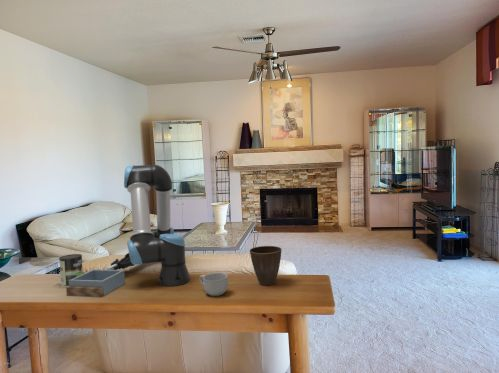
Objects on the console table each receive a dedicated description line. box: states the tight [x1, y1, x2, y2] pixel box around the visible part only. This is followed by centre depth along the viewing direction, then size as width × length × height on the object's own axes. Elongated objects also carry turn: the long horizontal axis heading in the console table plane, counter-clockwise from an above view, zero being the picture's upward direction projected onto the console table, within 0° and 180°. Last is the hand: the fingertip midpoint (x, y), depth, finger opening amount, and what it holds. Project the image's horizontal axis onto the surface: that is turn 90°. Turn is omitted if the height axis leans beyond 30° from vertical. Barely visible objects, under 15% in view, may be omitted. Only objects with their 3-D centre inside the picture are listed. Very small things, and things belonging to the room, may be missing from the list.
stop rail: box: [65, 286, 105, 298], centre depth 166 cm, size 18×2×4 cm, turn 77°
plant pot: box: [249, 245, 282, 286], centre depth 174 cm, size 15×15×16 cm
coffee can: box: [58, 253, 84, 288], centre depth 185 cm, size 10×10×14 cm
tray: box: [69, 269, 126, 296], centre depth 175 cm, size 17×17×6 cm
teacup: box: [199, 271, 229, 297], centre depth 163 cm, size 14×11×8 cm
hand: (108, 270), depth 184 cm, fingers closed
